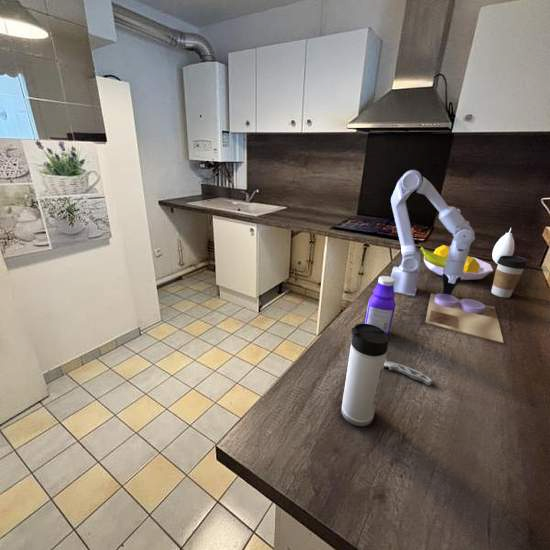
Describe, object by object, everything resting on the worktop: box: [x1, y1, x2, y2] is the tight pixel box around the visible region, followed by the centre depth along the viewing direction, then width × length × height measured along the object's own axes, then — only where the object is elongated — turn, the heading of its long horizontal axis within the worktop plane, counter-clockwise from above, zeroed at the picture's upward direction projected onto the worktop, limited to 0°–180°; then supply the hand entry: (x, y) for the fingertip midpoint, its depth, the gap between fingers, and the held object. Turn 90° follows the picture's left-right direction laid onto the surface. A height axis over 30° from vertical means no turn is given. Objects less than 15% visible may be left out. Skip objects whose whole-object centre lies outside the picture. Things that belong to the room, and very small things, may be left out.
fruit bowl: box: [420, 244, 494, 281], centre depth 127 cm, size 28×27×11 cm
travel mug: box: [340, 323, 390, 427], centre depth 55 cm, size 6×7×20 cm
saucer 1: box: [434, 292, 459, 307], centre depth 103 cm, size 7×7×2 cm
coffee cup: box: [490, 255, 528, 299], centre depth 108 cm, size 8×8×15 cm
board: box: [424, 292, 505, 344], centre depth 96 cm, size 20×24×1 cm
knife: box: [384, 358, 434, 386], centre depth 71 cm, size 2×18×3 cm
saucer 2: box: [459, 298, 486, 314], centre depth 99 cm, size 7×7×2 cm
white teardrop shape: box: [491, 227, 515, 265], centre depth 138 cm, size 8×8×18 cm
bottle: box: [364, 275, 397, 336], centre depth 82 cm, size 7×6×17 cm
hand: (446, 294), depth 106 cm, fingers closed
